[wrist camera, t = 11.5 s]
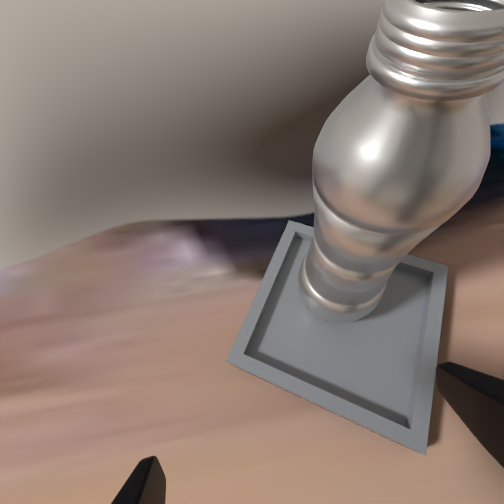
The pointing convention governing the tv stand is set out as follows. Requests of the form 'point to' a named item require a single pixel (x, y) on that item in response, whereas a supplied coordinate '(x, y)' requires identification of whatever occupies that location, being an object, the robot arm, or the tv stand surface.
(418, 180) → the plastic bottle
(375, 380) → the grey tray
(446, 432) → the tv stand surface
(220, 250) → the tv stand surface
